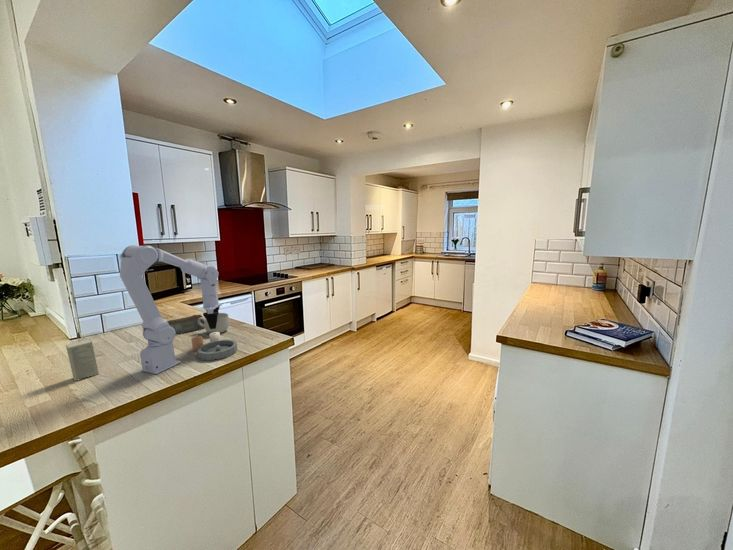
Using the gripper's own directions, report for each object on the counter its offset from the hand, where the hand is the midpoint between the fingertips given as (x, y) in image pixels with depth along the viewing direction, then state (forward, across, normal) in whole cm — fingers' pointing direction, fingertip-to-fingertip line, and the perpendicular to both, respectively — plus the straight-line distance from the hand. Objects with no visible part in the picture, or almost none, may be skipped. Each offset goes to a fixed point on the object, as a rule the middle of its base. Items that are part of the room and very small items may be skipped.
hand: (213, 325), depth 124 cm
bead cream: (+8, 0, 0) cm, 8 cm away
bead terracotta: (+8, -2, +6) cm, 11 cm away
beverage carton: (+9, +27, +16) cm, 33 cm away
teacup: (+9, +18, +1) cm, 20 cm away
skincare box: (+9, -10, +40) cm, 42 cm away
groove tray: (+8, -10, -1) cm, 13 cm away
